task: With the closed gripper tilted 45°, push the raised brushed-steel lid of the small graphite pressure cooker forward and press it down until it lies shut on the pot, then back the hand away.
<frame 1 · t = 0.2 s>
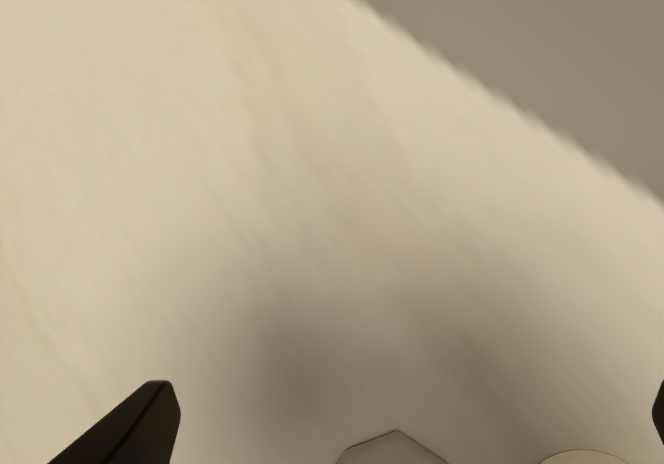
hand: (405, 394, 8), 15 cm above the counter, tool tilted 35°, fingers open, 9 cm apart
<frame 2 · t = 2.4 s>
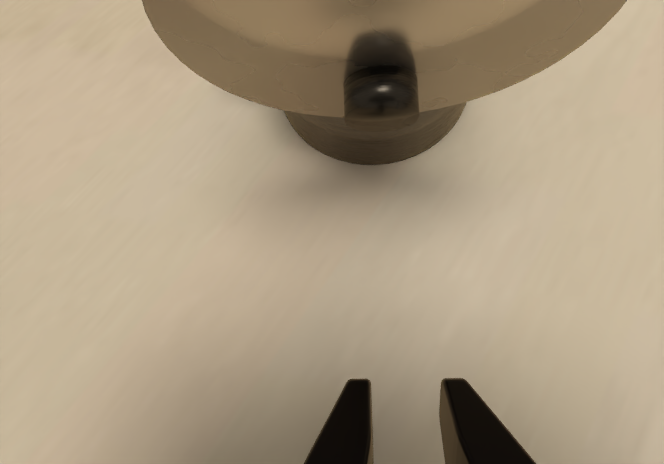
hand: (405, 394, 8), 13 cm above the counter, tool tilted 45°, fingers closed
cooker pot: (372, 79, 26), on the counter
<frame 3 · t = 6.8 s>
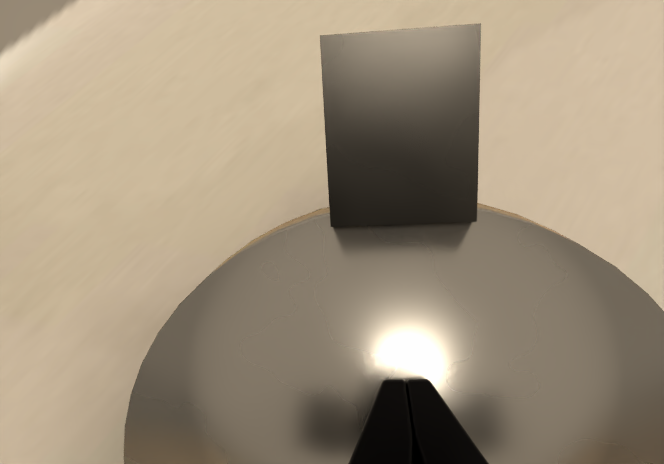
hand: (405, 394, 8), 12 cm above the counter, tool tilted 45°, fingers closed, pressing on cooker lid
cooker lid: (406, 437, 8), point 12 cm above the counter, hinge at 30.9°, touching gripper
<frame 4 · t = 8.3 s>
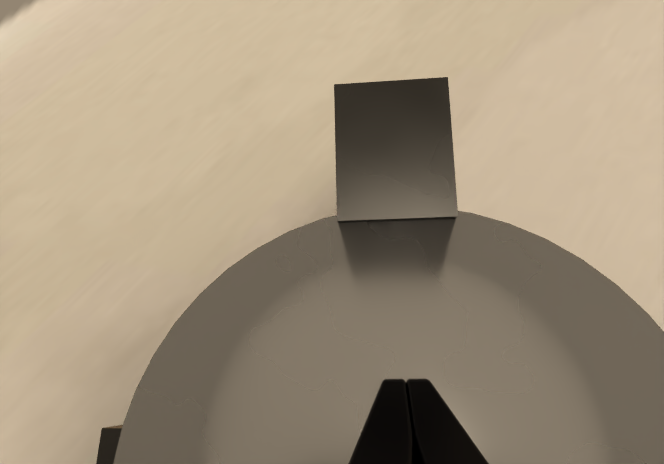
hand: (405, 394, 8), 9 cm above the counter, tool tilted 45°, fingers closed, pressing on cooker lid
cooker pot: (392, 442, 16), on the counter
cooker lid: (406, 438, 8), point 9 cm above the counter, hinge at 8.7°, touching gripper
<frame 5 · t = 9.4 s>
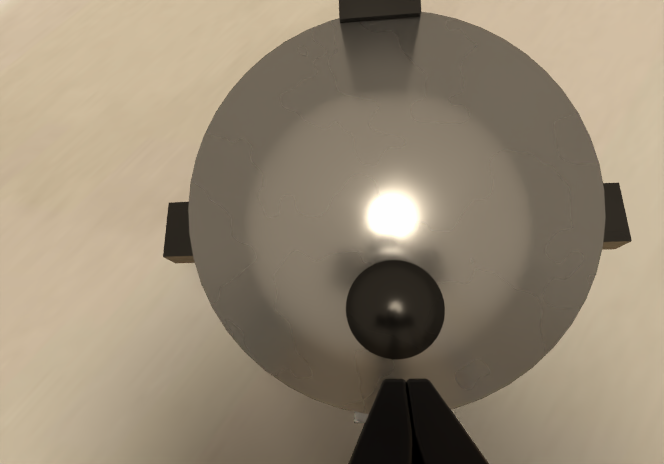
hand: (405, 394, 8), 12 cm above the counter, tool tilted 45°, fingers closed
cooker pot: (382, 262, 21), on the counter
cooker lid: (385, 152, 12), point 9 cm above the counter, hinge at 8.6°
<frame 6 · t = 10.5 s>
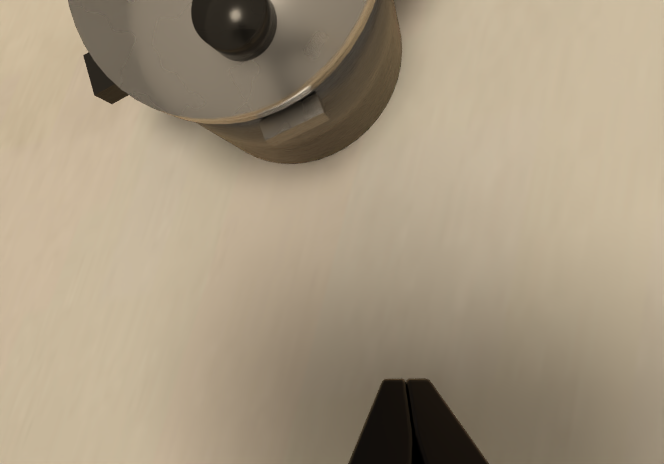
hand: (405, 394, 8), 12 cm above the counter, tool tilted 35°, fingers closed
cooker pot: (297, 61, 23), on the counter
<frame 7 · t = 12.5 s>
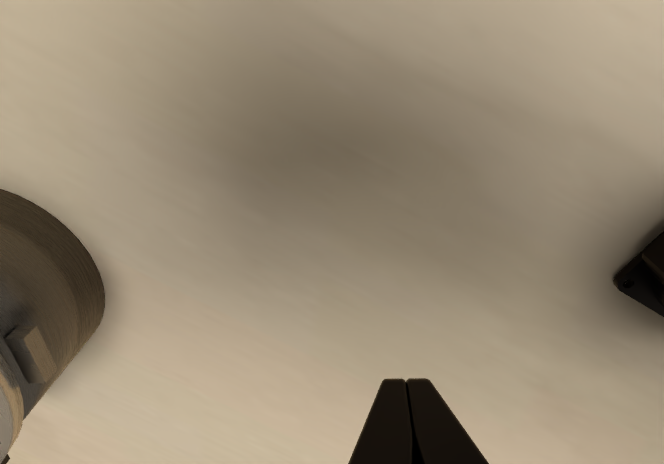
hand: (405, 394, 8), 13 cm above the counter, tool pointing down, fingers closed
cooker pot: (4, 277, 24), on the counter
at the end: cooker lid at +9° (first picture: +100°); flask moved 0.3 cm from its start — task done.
